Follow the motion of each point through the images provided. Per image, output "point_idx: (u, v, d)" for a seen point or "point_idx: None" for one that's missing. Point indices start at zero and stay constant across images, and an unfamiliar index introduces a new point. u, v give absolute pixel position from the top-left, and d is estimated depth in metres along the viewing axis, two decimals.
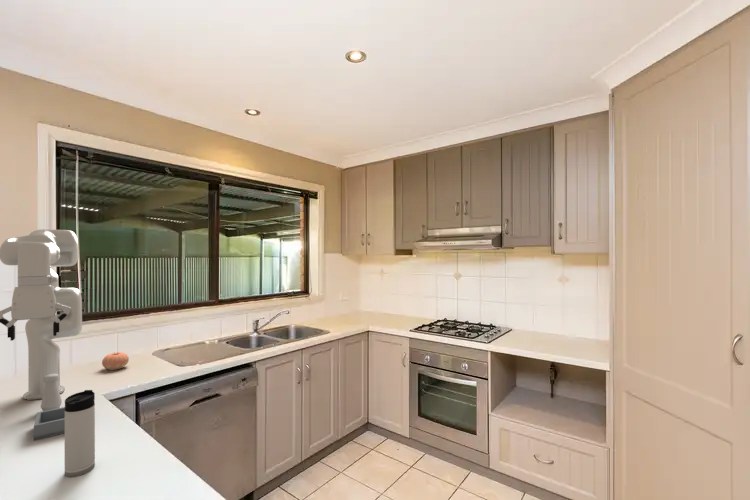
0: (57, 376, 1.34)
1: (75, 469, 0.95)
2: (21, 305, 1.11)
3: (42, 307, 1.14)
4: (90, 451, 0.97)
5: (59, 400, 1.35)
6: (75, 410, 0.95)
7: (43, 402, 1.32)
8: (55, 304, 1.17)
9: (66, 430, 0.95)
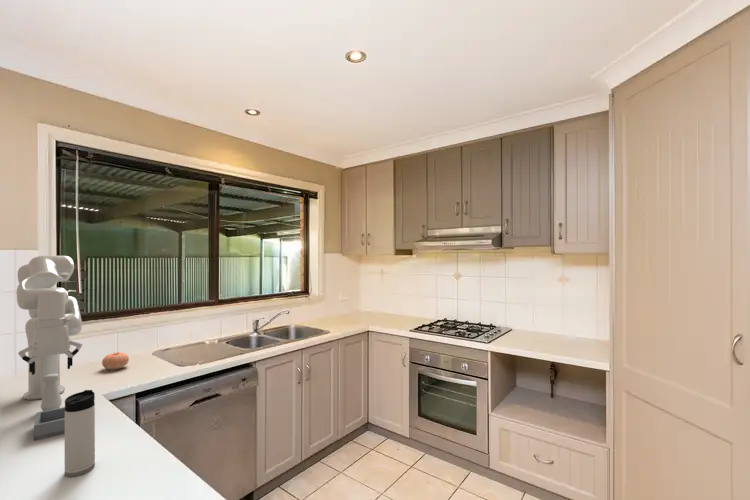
0: (57, 376, 1.34)
1: (75, 469, 0.95)
2: (40, 344, 1.30)
3: (58, 345, 1.33)
4: (90, 451, 0.97)
5: (59, 400, 1.35)
6: (75, 410, 0.95)
7: (43, 402, 1.32)
8: (69, 342, 1.36)
9: (66, 430, 0.95)
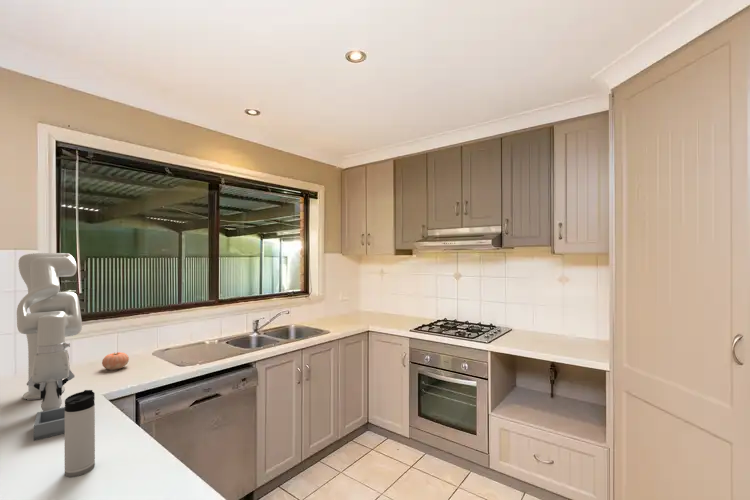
0: None
1: (75, 469, 0.95)
2: (40, 370, 1.31)
3: (58, 370, 1.34)
4: (90, 451, 0.97)
5: (59, 400, 1.35)
6: (75, 410, 0.95)
7: (43, 402, 1.32)
8: (69, 366, 1.36)
9: (66, 430, 0.95)
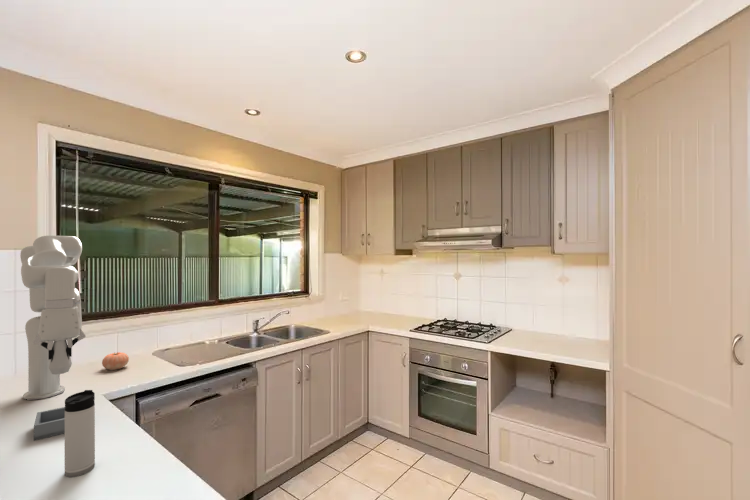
0: None
1: (75, 469, 0.95)
2: (48, 327, 1.18)
3: (67, 328, 1.21)
4: (90, 451, 0.97)
5: (69, 361, 1.22)
6: (75, 410, 0.95)
7: (51, 362, 1.19)
8: (79, 325, 1.24)
9: (66, 430, 0.95)
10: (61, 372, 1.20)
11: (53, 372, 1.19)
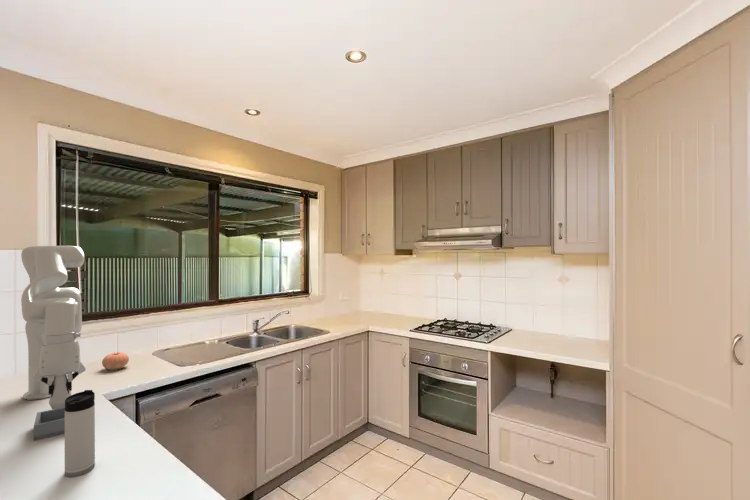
0: None
1: (75, 469, 0.95)
2: (48, 362, 1.18)
3: (68, 363, 1.21)
4: (90, 451, 0.97)
5: (69, 395, 1.22)
6: (75, 410, 0.95)
7: (52, 398, 1.19)
8: (79, 358, 1.23)
9: (66, 430, 0.95)
10: (61, 407, 1.20)
11: (53, 407, 1.19)
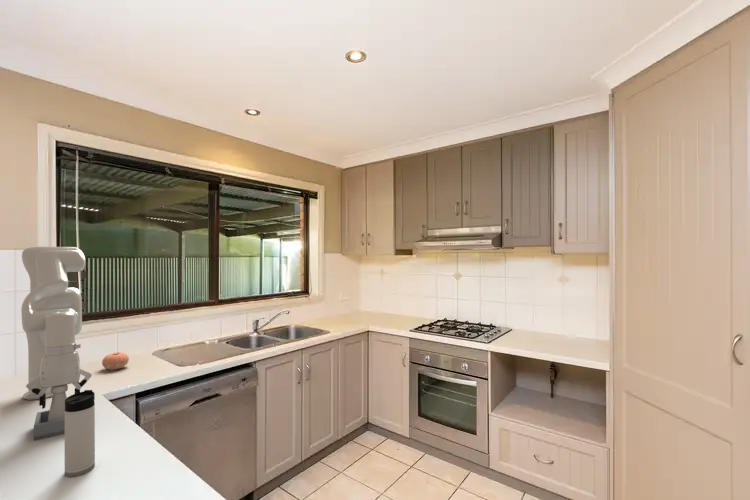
0: (66, 386, 1.22)
1: (75, 469, 0.95)
2: (48, 374, 1.18)
3: (68, 374, 1.21)
4: (90, 451, 0.97)
5: None
6: (75, 410, 0.95)
7: (50, 415, 1.19)
8: (79, 370, 1.23)
9: (66, 430, 0.95)
10: None
11: None
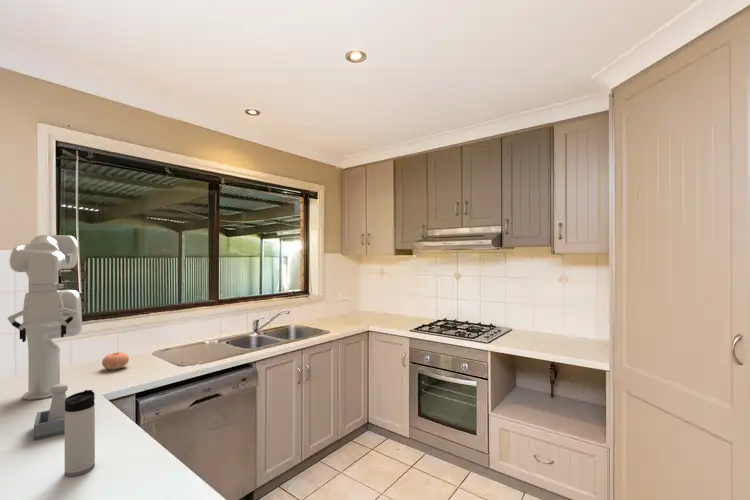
0: (66, 386, 1.22)
1: (75, 469, 0.95)
2: (32, 310, 1.21)
3: (51, 311, 1.24)
4: (90, 451, 0.97)
5: None
6: (75, 410, 0.95)
7: (50, 415, 1.19)
8: (63, 308, 1.27)
9: (66, 430, 0.95)
10: None
11: None
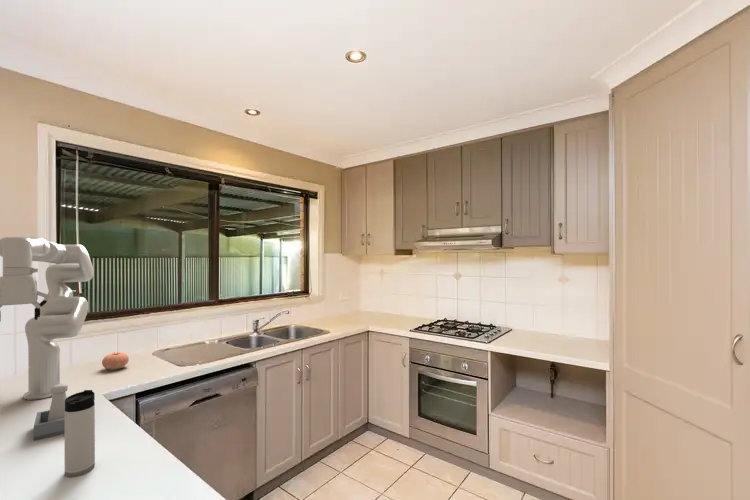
0: (66, 386, 1.22)
1: (75, 469, 0.95)
2: (5, 292, 1.27)
3: (24, 294, 1.29)
4: (90, 451, 0.97)
5: None
6: (75, 410, 0.95)
7: (50, 415, 1.19)
8: (36, 292, 1.32)
9: (66, 430, 0.95)
10: None
11: None
